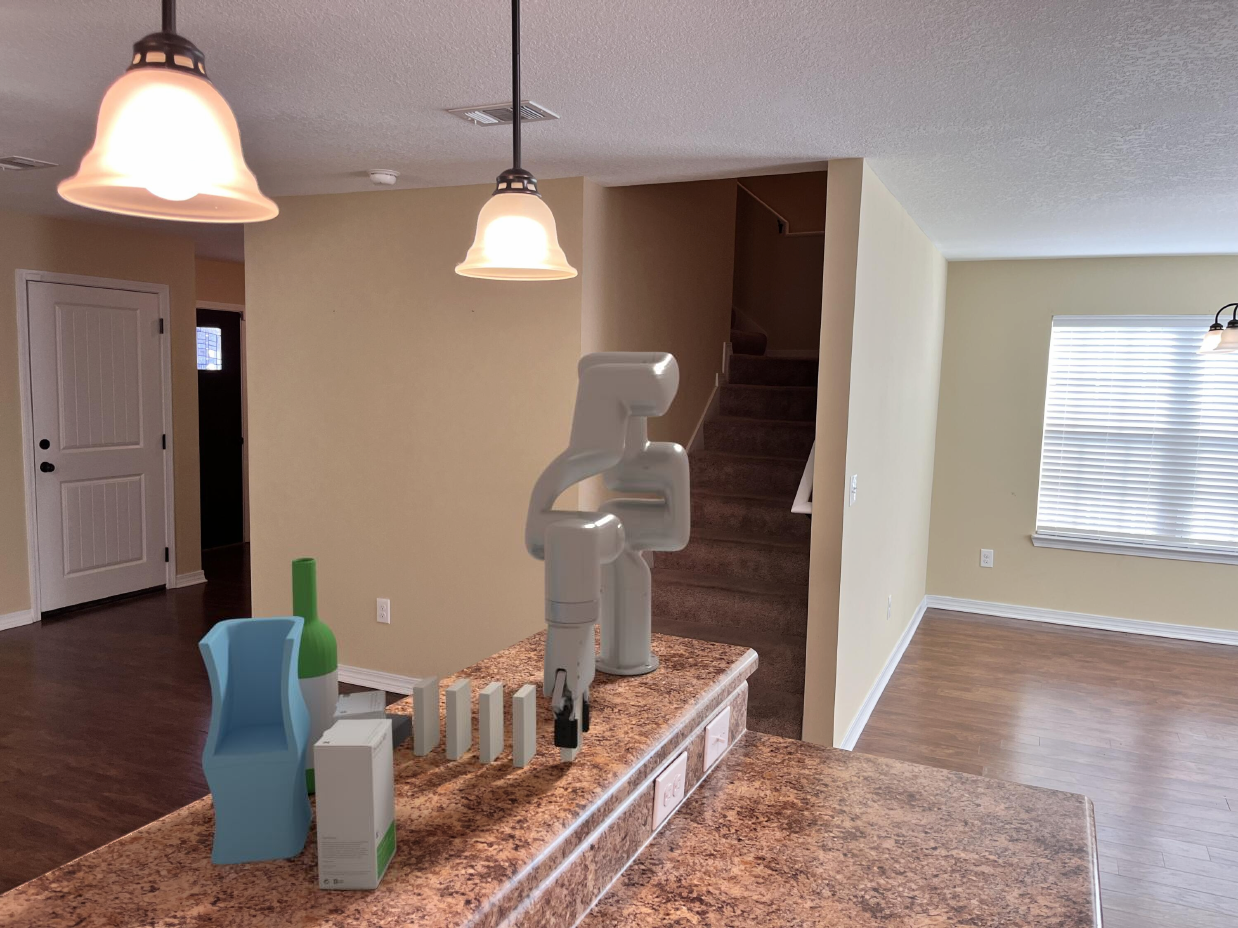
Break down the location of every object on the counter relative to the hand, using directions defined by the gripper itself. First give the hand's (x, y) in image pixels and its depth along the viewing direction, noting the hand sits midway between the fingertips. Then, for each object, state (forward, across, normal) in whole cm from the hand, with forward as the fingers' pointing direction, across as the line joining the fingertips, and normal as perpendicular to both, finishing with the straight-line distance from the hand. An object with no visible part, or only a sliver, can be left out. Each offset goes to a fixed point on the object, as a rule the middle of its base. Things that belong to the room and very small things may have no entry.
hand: (572, 737), depth 121 cm
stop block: (+4, 0, -28) cm, 29 cm away
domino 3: (+4, 0, -12) cm, 13 cm away
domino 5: (+2, 0, 0) cm, 2 cm away
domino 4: (+4, 0, -7) cm, 8 cm away
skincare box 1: (+4, +21, -20) cm, 29 cm away
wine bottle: (+4, +14, -32) cm, 35 cm away
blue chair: (+4, +28, -29) cm, 40 cm away
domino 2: (+4, 0, -17) cm, 17 cm away
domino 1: (+4, 0, -22) cm, 22 cm away
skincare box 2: (+4, +31, -15) cm, 35 cm away
